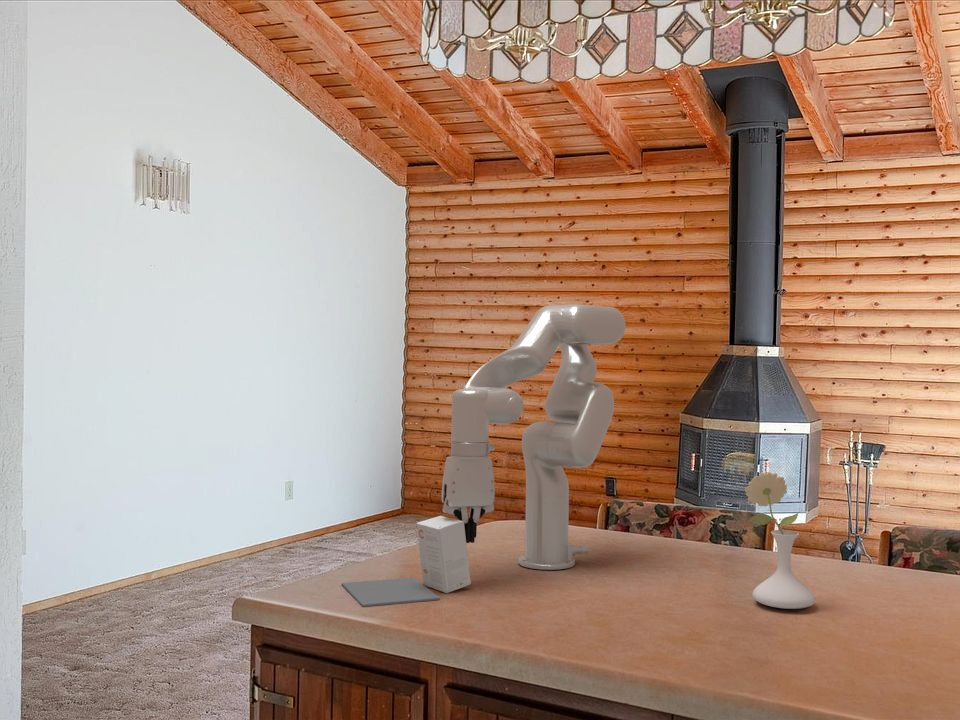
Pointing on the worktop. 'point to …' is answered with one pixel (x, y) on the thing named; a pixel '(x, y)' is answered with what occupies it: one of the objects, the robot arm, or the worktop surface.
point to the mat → (389, 592)
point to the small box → (443, 554)
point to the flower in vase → (783, 583)
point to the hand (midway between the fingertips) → (467, 541)
